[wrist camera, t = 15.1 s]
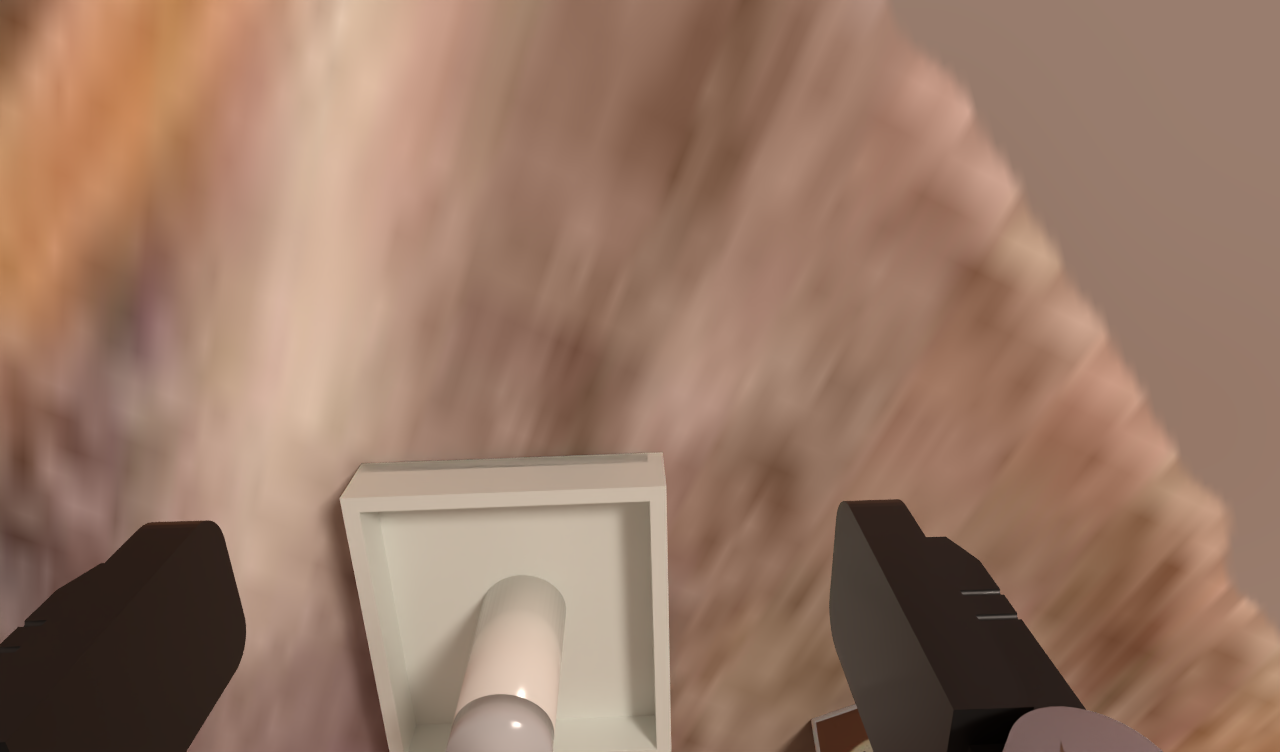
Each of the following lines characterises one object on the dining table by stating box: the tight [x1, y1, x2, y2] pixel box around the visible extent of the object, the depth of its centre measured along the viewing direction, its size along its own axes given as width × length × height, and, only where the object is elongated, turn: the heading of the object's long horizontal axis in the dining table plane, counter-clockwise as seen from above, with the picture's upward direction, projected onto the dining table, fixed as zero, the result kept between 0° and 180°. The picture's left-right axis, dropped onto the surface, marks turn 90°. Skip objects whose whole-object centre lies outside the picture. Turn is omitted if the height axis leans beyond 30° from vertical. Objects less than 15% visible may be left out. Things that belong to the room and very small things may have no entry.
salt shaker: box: [446, 575, 566, 752], centre depth 39 cm, size 5×5×10 cm
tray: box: [340, 452, 671, 752], centre depth 43 cm, size 16×18×4 cm
